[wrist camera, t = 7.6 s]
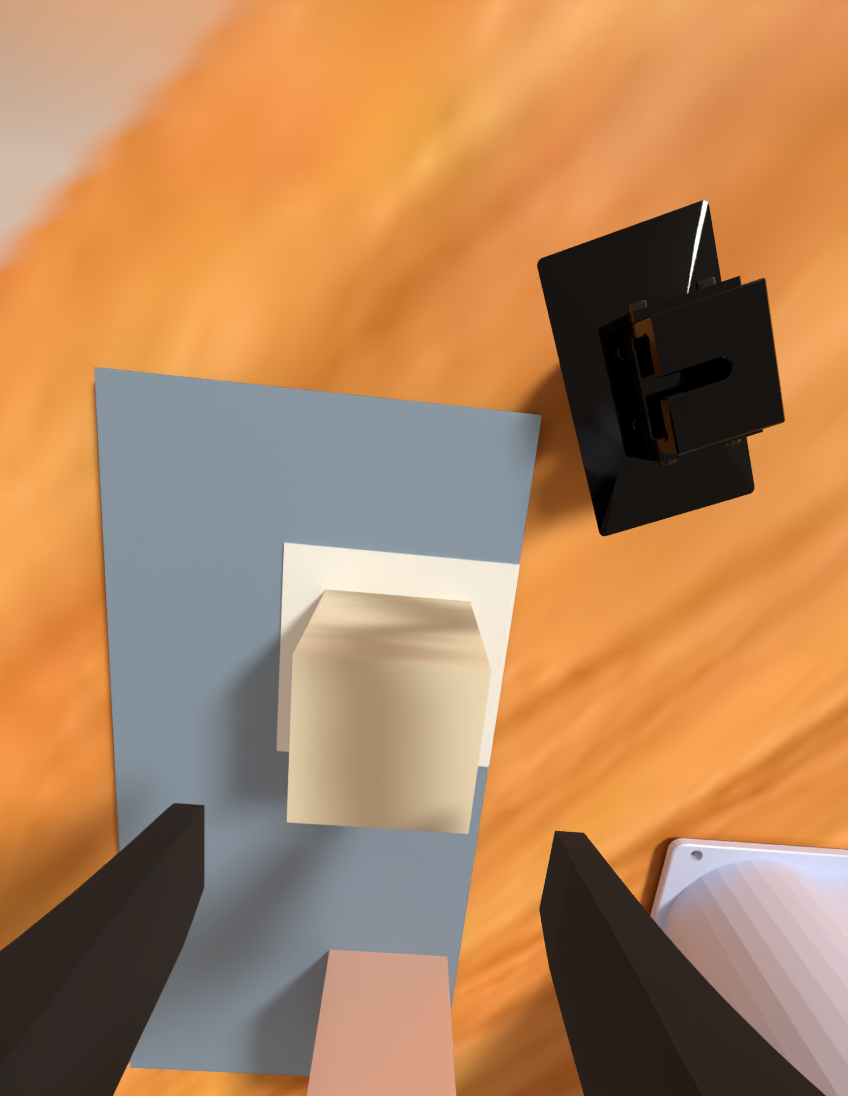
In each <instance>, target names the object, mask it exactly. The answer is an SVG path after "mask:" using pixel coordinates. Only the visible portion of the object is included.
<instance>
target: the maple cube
mask: <svg viewBox="0 0 848 1096" xmlns="http://www.w3.org/2000/svg"><path fill="white" fill-rule="evenodd" d="M490 677H491V667H490V664H489V660H488V657H487V654H486V651H485V647H484V644H483V641H482V638H481V634H480V631H479V628H478V625H477V622H476V618H475V615H474V612H473V609H472V605H471V602H470V601H459V600H447V599H435V598H423V597H411V596H399V595H387V594H375V593H363V592H351V591H339V590H327V589H326V590H325V592H324V594H323V596H322V598H321V600H320V602H319V604H318V606H317V608H316V610H315V612H314V614H313V616H312V618H311V620H310V622H309V624H308V626H307V628H306V629H305V631H304V633H303V635H302V637H301V639H300V641H299V643H298V645H297V647H296V649H295V651H294V653H293V662H292V690H291V717H290V745H289V772H288V800H287V822H290V823H305V824H321V825H336V826H352V827H368V828H383V829H399V830H414V831H430V832H446V833H461V834H469V827H470V820H471V813H472V806H473V798H474V791H475V784H476V777H477V770H478V763H479V756H480V749H481V741H482V734H483V727H484V720H485V713H486V706H487V699H488V692H489V684H490Z"/></svg>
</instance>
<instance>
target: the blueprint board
mask: <svg viewBox="0 0 848 1096" xmlns="http://www.w3.org/2000/svg"><path fill="white" fill-rule="evenodd" d="M94 370H95V390H96V409H97V428H98V448H99V467H100V486H101V506H102V525H103V544H104V563H105V583H106V602H107V621H108V641H109V660H110V679H111V698H112V718H113V737H114V756H115V776H116V795H117V814H118V834H119V852H120V851H121V850H122V849H123V848H124V847H125V846H127V845H128V844H129V843H130V842H131V841H132V840H133V839H134V838H135V837H136V836H138V835H139V834H140V833H141V832H142V831H143V830H144V829H145V828H146V827H147V826H148V825H150V824H151V823H152V822H153V821H154V820H155V819H156V818H157V817H158V816H159V815H160V814H162V813H163V812H164V811H165V810H166V809H167V808H168V807H170V806H171V805H172V804H173V803H182V804H196V805H205V870H204V890H203V893H202V896H201V899H200V901H199V904H198V907H197V910H196V913H195V916H194V919H193V921H192V924H191V927H190V930H189V932H188V935H187V938H186V940H185V943H184V946H183V948H182V950H181V952H180V955H179V957H178V959H177V961H176V963H175V965H174V967H173V970H172V972H171V974H170V976H169V978H168V980H167V982H166V985H165V987H164V989H163V991H162V993H161V995H160V997H159V999H158V1002H157V1004H156V1006H155V1008H154V1010H153V1012H152V1014H151V1016H150V1018H149V1021H148V1023H147V1025H146V1027H145V1029H144V1031H143V1033H142V1035H141V1037H140V1040H139V1042H138V1044H137V1046H136V1048H135V1050H134V1052H133V1054H132V1056H131V1059H130V1065H131V1068H149V1069H170V1070H191V1071H212V1072H233V1073H254V1074H275V1075H296V1076H310V1071H311V1065H312V1059H313V1052H314V1046H315V1040H316V1033H317V1027H318V1021H319V1014H320V1008H321V1001H322V995H323V989H324V982H325V976H326V970H327V963H328V957H329V950H345V951H362V952H379V953H396V954H414V955H431V956H447V959H448V975H449V991H450V1007H451V1006H452V999H453V993H454V986H455V980H456V973H457V967H458V960H459V954H460V947H461V941H462V934H463V928H464V921H465V915H466V908H467V902H468V895H469V889H470V882H471V875H472V869H473V862H474V856H475V849H476V843H477V836H478V830H479V823H480V817H481V810H482V804H483V797H484V791H485V784H486V778H487V771H488V767H489V762H490V756H491V749H492V743H493V736H494V730H495V723H496V717H497V710H498V704H499V697H500V691H501V684H502V678H503V671H504V665H505V658H506V652H507V645H508V639H509V632H510V626H511V619H512V613H513V606H514V599H515V593H516V586H517V580H518V573H519V567H520V565H519V562H520V556H521V549H522V543H523V536H524V530H525V523H526V517H527V510H528V504H529V497H530V491H531V484H532V478H533V471H534V464H535V458H536V451H537V445H538V438H539V432H540V425H541V419H542V415H537V414H528V413H519V412H509V411H500V410H491V409H481V408H472V407H462V406H453V405H444V404H434V403H425V402H416V401H406V400H397V399H387V398H378V397H369V396H359V395H350V394H341V393H331V392H322V391H312V390H303V389H294V388H284V387H275V386H266V385H256V384H247V383H238V382H228V381H219V380H209V379H200V378H191V377H181V376H172V375H163V374H153V373H144V372H134V371H125V370H116V369H106V368H97V367H94ZM326 589H327V590H339V591H351V592H363V593H375V594H387V595H399V596H411V597H423V598H435V599H447V600H459V601H470V602H471V605H472V609H473V612H474V615H475V618H476V622H477V625H478V628H479V631H480V634H481V638H482V641H483V644H484V647H485V651H486V654H487V657H488V660H489V664H490V667H491V677H490V684H489V692H488V699H487V706H486V713H485V720H484V727H483V734H482V741H481V749H480V756H479V763H478V770H477V777H476V784H475V791H474V798H473V806H472V813H471V820H470V827H469V834H461V833H446V832H430V831H414V830H399V829H383V828H368V827H352V826H336V825H321V824H305V823H290V822H287V800H288V772H289V745H290V717H291V690H292V662H293V653H294V651H295V649H296V647H297V645H298V643H299V641H300V639H301V637H302V635H303V633H304V631H305V629H306V628H307V626H308V624H309V622H310V620H311V618H312V616H313V614H314V612H315V610H316V608H317V606H318V604H319V602H320V600H321V598H322V596H323V594H324V592H325V590H326Z"/></svg>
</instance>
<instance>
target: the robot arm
mask: <svg viewBox="0 0 848 1096" xmlns="http://www.w3.org/2000/svg"><path fill="white" fill-rule="evenodd" d="M694 851H695V852H694ZM692 852H694V853H692ZM204 870H205V805H196V804H182V803H173V804H172V805H171V806H170V807H168V808H167V809H166V810H165V811H164V812H163V813H162V814H160V815H159V816H158V817H157V818H156V819H155V820H154V821H153V822H152V823H151V824H150V825H148V826H147V827H146V828H145V829H144V830H143V831H142V832H141V833H140V834H139V835H138V836H136V837H135V838H134V839H133V840H132V841H131V842H130V843H129V844H128V845H127V846H125V847H124V848H123V849H122V850H121V851H120V852H119V853H118V854H117V855H115V856H114V857H113V858H112V859H111V860H110V861H109V862H108V863H106V864H105V865H104V866H103V867H102V868H101V869H100V870H98V871H97V872H96V873H95V874H94V875H93V876H92V877H90V878H89V879H88V880H87V881H86V882H85V883H83V884H82V885H81V886H80V887H79V888H78V889H77V890H75V891H74V892H73V893H72V894H71V895H70V896H68V897H67V898H66V899H65V900H64V901H62V902H61V903H60V904H59V905H57V906H56V907H55V908H54V909H52V910H51V911H50V912H49V913H48V914H46V915H45V916H44V917H43V918H41V919H40V920H39V921H38V922H36V923H35V924H34V925H33V926H31V927H30V928H29V929H28V930H27V931H25V932H24V933H23V934H22V935H20V936H19V937H18V938H17V939H15V940H14V941H13V942H11V943H10V944H9V945H8V946H6V947H5V948H4V949H2V950H1V951H0V1096H113V1094H114V1092H115V1090H116V1088H117V1086H118V1084H119V1082H120V1080H121V1077H122V1075H123V1073H124V1071H125V1069H126V1067H127V1065H128V1063H129V1061H130V1059H131V1056H132V1054H133V1052H134V1050H135V1048H136V1046H137V1044H138V1042H139V1040H140V1037H141V1035H142V1033H143V1031H144V1029H145V1027H146V1025H147V1023H148V1021H149V1018H150V1016H151V1014H152V1012H153V1010H154V1008H155V1006H156V1004H157V1002H158V999H159V997H160V995H161V993H162V991H163V989H164V987H165V985H166V982H167V980H168V978H169V976H170V974H171V972H172V970H173V967H174V965H175V963H176V961H177V959H178V957H179V955H180V952H181V950H182V948H183V946H184V943H185V940H186V938H187V935H188V932H189V930H190V927H191V924H192V921H193V919H194V916H195V913H196V910H197V907H198V904H199V901H200V899H201V896H202V893H203V890H204ZM539 910H540V916H541V922H542V929H543V935H544V941H545V947H546V952H547V958H548V963H549V969H550V972H551V976H552V980H553V984H554V988H555V991H556V995H557V999H558V1002H559V1006H560V1010H561V1013H562V1017H563V1021H564V1024H565V1028H566V1032H567V1035H568V1039H569V1042H570V1046H571V1050H572V1053H573V1057H574V1060H575V1064H576V1068H577V1071H578V1075H579V1078H580V1082H581V1086H582V1089H583V1093H584V1096H848V850H844V849H829V848H815V847H801V846H787V845H772V844H758V843H744V842H730V841H716V840H701V839H687V838H679V839H676V840H673V841H672V842H671V843H670V845H669V847H668V850H667V854H666V858H665V862H664V865H663V869H662V873H661V877H660V880H659V884H658V888H657V892H656V896H655V899H654V903H653V907H652V911H651V915H649V914H648V913H647V911H646V910H645V909H644V908H643V906H642V905H641V904H640V903H639V902H638V900H637V899H636V898H635V897H634V895H633V894H632V893H631V892H630V890H629V889H628V888H627V887H626V885H625V884H624V883H623V882H622V880H621V879H620V878H619V877H618V875H617V874H616V873H615V872H614V870H613V869H612V868H611V867H610V865H609V864H608V863H607V861H606V860H605V859H604V858H603V856H602V855H601V854H600V853H599V851H598V850H597V849H596V847H595V846H594V845H593V844H592V842H591V841H590V840H589V839H588V837H587V836H586V835H585V834H584V833H578V832H564V831H555V834H554V839H553V844H552V849H551V854H550V859H549V864H548V869H547V874H546V879H545V884H544V889H543V894H542V899H541V904H540V909H539Z"/></svg>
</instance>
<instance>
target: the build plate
mask: <svg viewBox="0 0 848 1096" xmlns="http://www.w3.org/2000/svg"><path fill="white" fill-rule="evenodd" d="M537 267H538V272H539V276H540V280H541V285H542V289H543V293H544V297H545V302H546V306H547V310H548V315H549V319H550V323H551V327H552V332H553V336H554V340H555V345H556V349H557V353H558V357H559V362H560V366H561V370H562V375H563V379H564V383H565V387H566V392H567V396H568V400H569V405H570V409H571V413H572V417H573V422H574V426H575V430H576V435H577V439H578V443H579V447H580V452H581V456H582V460H583V465H584V469H585V473H586V477H587V482H588V486H589V490H590V495H591V499H592V503H593V507H594V512H595V516H596V520H597V525H598V529H599V533H600V534H601V535H602V536H608V535H611V534H615V533H618V532H621V531H625V530H628V529H632V528H635V527H638V526H642V525H645V524H649V523H652V522H655V521H659V520H662V519H666V518H669V517H672V516H676V515H679V514H683V513H686V512H689V511H693V510H696V509H700V508H703V507H706V506H710V505H713V504H717V503H720V502H723V501H727V500H730V499H734V498H737V497H740V496H744V495H747V494H750V493H752V492H753V491H754V481H753V475H752V468H751V462H750V456H749V450H748V444H747V437H748V436H751V435H754V434H757V433H760V432H763V429H764V428H768V427H771V426H774V425H777V424H780V423H783V422H784V421H785V415H784V408H783V401H782V394H781V386H780V379H779V372H778V365H777V357H776V350H775V343H774V336H773V328H772V321H771V314H770V306H769V299H768V292H767V285H766V279H765V278H762V279H759V280H756V281H753V282H750V283H747V284H744V285H741V279H740V276H738V277H735V278H732V279H729V280H726V281H723V282H721V276H720V270H719V264H718V258H717V251H716V245H715V239H714V233H713V227H712V220H711V214H710V208H709V204H708V202H706V201H700V202H697V203H694V204H691V205H689V206H686V207H683V208H680V209H677V210H675V211H672V212H669V213H666V214H663V215H661V216H658V217H655V218H652V219H650V220H647V221H644V222H641V223H638V224H636V225H633V226H630V227H627V228H625V229H622V230H619V231H616V232H613V233H611V234H608V235H605V236H602V237H599V238H597V239H594V240H591V241H588V242H586V243H583V244H580V245H577V246H574V247H572V248H569V249H566V250H563V251H561V252H558V253H555V254H552V255H549V256H547V257H544V258H541V259H540V260H539V261H538V264H537Z"/></svg>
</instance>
